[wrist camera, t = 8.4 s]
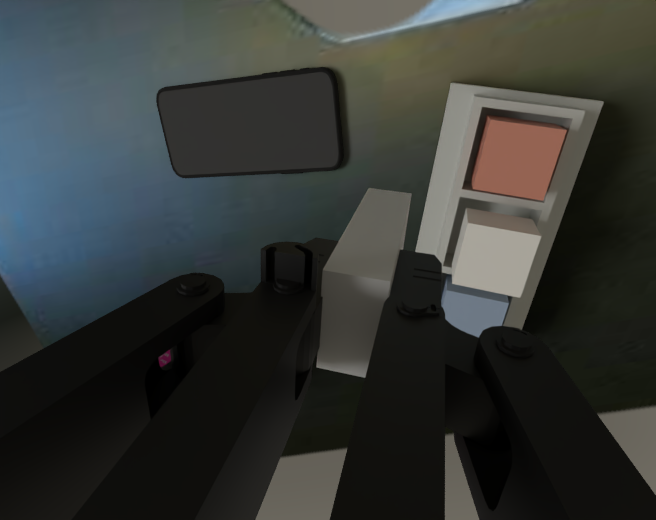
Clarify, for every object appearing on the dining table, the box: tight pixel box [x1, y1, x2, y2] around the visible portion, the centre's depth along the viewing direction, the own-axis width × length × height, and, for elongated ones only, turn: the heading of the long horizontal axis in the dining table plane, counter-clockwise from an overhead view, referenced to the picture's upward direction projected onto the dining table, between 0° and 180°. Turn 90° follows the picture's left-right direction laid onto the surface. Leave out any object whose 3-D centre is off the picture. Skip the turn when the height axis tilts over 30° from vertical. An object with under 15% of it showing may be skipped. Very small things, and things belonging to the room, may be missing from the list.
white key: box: [452, 208, 541, 298], centre depth 27 cm, size 4×4×3 cm
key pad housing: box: [415, 82, 604, 330], centre depth 30 cm, size 18×9×4 cm, turn 174°
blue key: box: [441, 274, 509, 337], centre depth 31 cm, size 4×4×3 cm
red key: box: [471, 115, 567, 201], centre depth 26 cm, size 4×4×3 cm
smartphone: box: [157, 67, 343, 178], centre depth 34 cm, size 7×1×15 cm
